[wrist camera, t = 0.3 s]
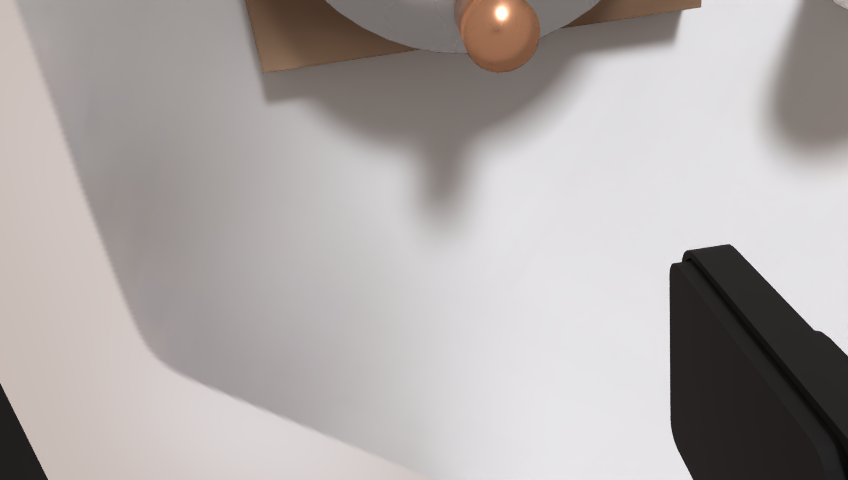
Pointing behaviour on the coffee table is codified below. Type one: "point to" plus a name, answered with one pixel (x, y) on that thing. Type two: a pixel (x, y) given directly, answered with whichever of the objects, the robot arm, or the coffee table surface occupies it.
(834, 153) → the coffee table surface
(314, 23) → the wheel base
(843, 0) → the white faceted cup
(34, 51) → the coffee table surface
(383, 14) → the handwheel
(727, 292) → the robot arm
